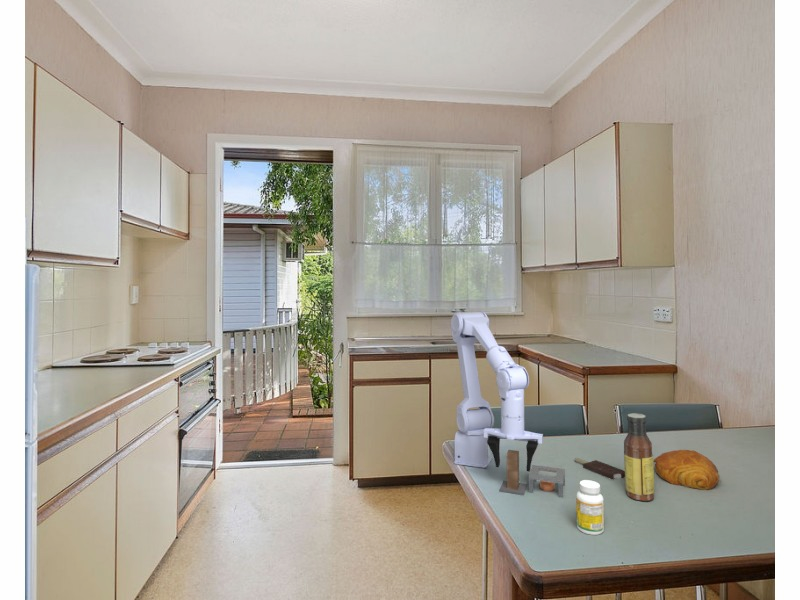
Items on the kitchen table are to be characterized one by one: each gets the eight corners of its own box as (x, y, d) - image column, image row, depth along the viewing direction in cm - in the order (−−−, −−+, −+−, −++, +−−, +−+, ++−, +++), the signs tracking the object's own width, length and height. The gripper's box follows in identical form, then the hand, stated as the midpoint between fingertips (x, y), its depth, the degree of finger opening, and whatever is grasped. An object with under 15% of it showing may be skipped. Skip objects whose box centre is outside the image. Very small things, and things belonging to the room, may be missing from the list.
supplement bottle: (599, 538, 92) (599, 491, 92) (572, 530, 96) (572, 484, 95) (607, 527, 96) (606, 482, 96) (581, 519, 100) (581, 476, 99)
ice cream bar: (569, 463, 132) (615, 482, 119) (569, 457, 132) (615, 476, 119) (581, 459, 135) (628, 477, 122) (581, 454, 135) (628, 471, 122)
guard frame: (529, 492, 113) (528, 476, 113) (532, 479, 121) (532, 464, 121) (563, 497, 110) (562, 481, 110) (564, 484, 118) (564, 469, 118)
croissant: (712, 480, 124) (712, 450, 125) (724, 495, 110) (724, 461, 111) (651, 470, 130) (652, 441, 131) (655, 483, 116) (656, 451, 117)
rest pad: (499, 491, 114) (499, 489, 114) (503, 481, 120) (503, 480, 120) (523, 495, 112) (523, 493, 112) (526, 485, 117) (526, 483, 117)
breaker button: (539, 489, 115) (539, 482, 114) (540, 484, 118) (540, 476, 118) (553, 492, 113) (553, 484, 113) (554, 486, 116) (554, 478, 116)
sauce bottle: (651, 492, 112) (651, 412, 112) (657, 504, 106) (656, 419, 106) (622, 489, 114) (622, 410, 114) (625, 500, 108) (625, 417, 108)
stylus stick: (507, 488, 115) (506, 453, 115) (508, 484, 117) (508, 449, 117) (517, 490, 114) (517, 454, 114) (519, 485, 116) (518, 450, 116)
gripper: (480, 416, 114) (481, 469, 115) (540, 422, 109) (541, 478, 109) (486, 409, 121) (487, 459, 121) (543, 414, 115) (543, 467, 116)
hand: (512, 467), depth 116 cm, fingers open, 7 cm apart
